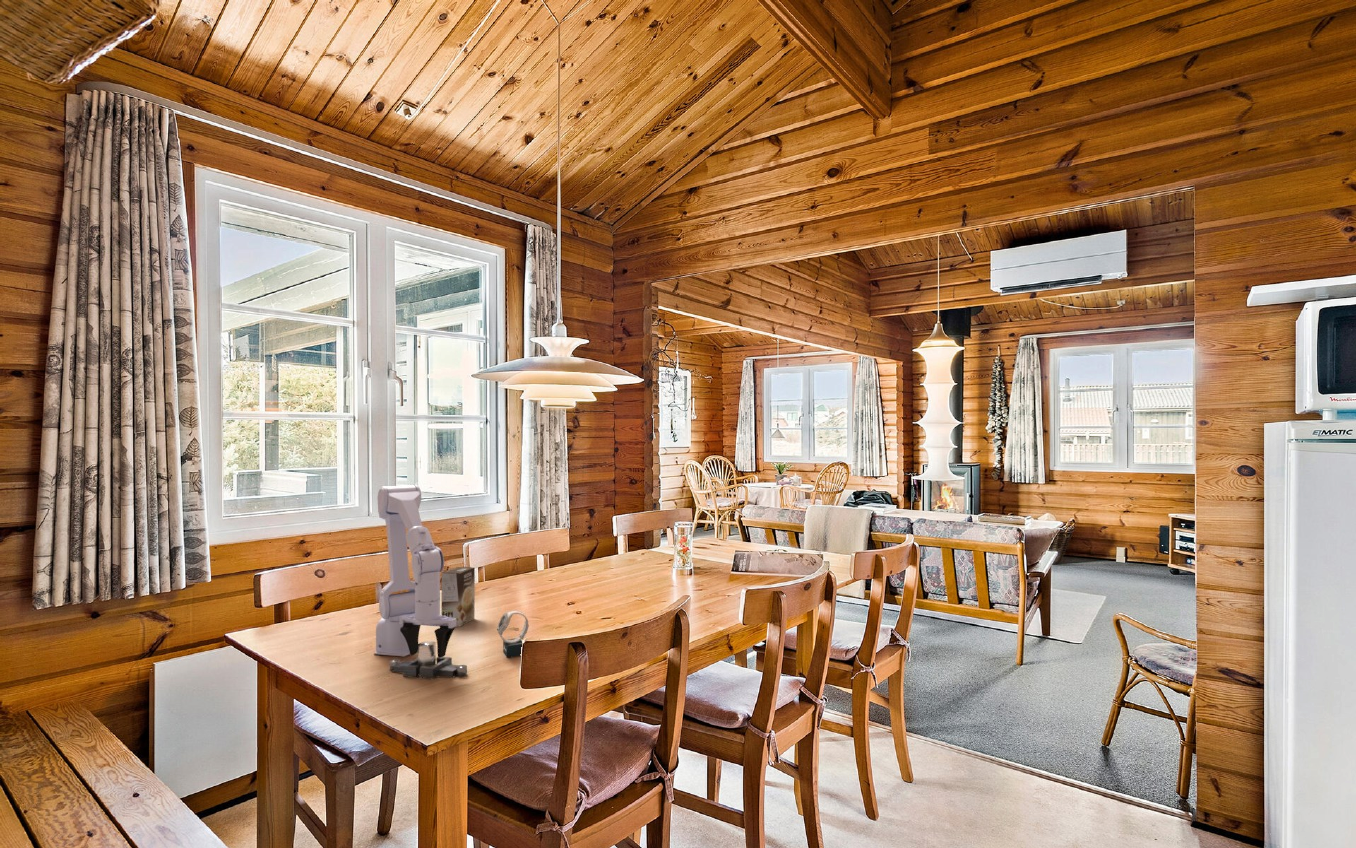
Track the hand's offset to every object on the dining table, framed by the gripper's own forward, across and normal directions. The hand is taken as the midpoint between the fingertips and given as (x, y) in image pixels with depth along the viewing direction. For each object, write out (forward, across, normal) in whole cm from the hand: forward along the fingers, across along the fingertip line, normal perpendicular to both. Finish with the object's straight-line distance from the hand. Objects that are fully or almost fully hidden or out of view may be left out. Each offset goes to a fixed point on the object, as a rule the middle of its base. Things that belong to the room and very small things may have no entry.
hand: (427, 655), depth 168 cm
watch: (+4, +14, +17) cm, 23 cm away
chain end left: (+4, -5, 0) cm, 7 cm away
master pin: (+4, 0, 0) cm, 4 cm away
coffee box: (+4, -16, +40) cm, 43 cm away
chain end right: (+4, +6, 0) cm, 7 cm away
